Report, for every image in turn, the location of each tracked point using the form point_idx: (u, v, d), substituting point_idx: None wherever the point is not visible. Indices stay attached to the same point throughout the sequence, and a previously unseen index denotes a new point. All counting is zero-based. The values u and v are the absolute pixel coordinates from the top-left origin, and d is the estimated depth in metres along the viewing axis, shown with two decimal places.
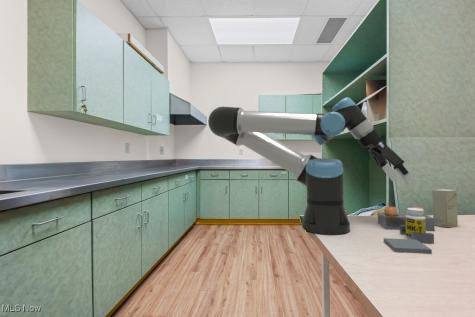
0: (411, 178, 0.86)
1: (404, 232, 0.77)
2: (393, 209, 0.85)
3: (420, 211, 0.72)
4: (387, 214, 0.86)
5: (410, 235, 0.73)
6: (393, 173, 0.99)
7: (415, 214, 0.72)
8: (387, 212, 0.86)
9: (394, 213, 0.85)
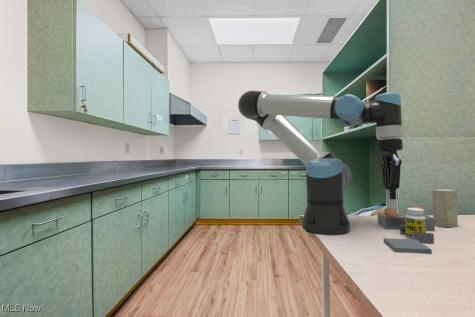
0: (394, 205, 0.86)
1: (404, 232, 0.77)
2: (393, 211, 0.85)
3: (420, 211, 0.72)
4: None
5: (410, 235, 0.73)
6: None
7: (415, 214, 0.72)
8: (387, 214, 0.86)
9: (394, 215, 0.85)
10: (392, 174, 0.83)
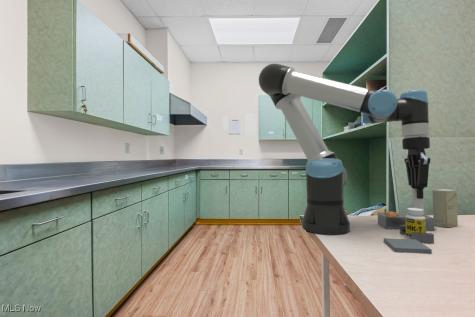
0: (421, 205, 0.84)
1: (404, 232, 0.77)
2: (393, 214, 0.85)
3: (420, 211, 0.72)
4: None
5: (410, 235, 0.73)
6: None
7: (415, 214, 0.72)
8: None
9: None
10: (420, 173, 0.81)
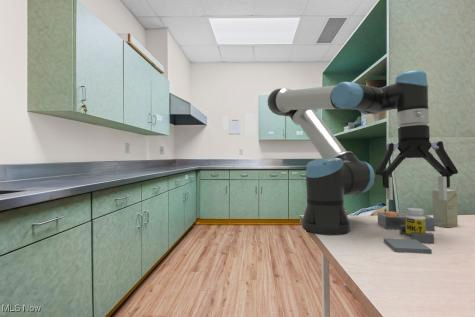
0: (388, 195, 0.75)
1: (404, 232, 0.77)
2: (393, 214, 0.85)
3: (420, 211, 0.72)
4: None
5: (410, 235, 0.73)
6: (442, 191, 0.72)
7: (415, 214, 0.72)
8: None
9: None
10: None
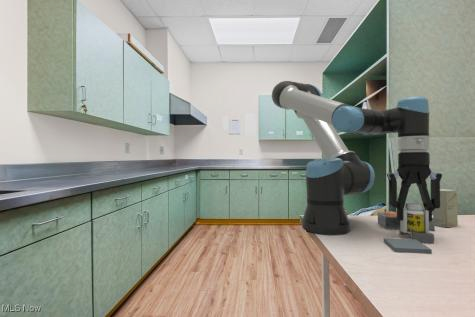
0: (403, 228, 0.74)
1: None
2: (393, 214, 0.85)
3: (419, 206, 0.72)
4: None
5: (408, 230, 0.73)
6: (424, 224, 0.73)
7: (413, 209, 0.73)
8: None
9: None
10: None
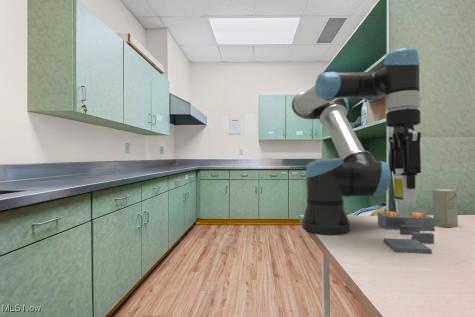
0: (412, 197, 0.63)
1: (404, 232, 0.77)
2: (393, 214, 0.85)
3: None
4: None
5: None
6: None
7: None
8: None
9: None
10: (409, 153, 0.61)
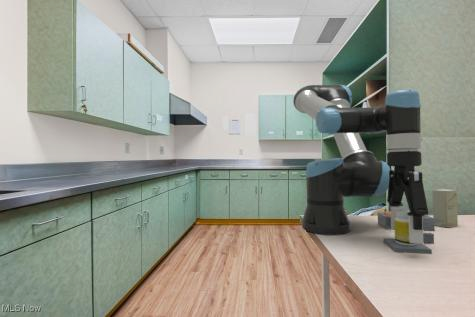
0: (419, 238, 0.60)
1: None
2: None
3: None
4: None
5: None
6: None
7: None
8: None
9: None
10: (413, 193, 0.59)
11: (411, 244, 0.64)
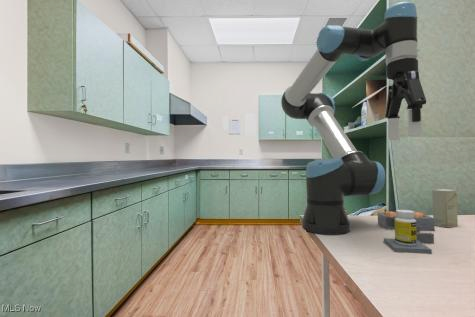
0: (417, 131, 0.64)
1: None
2: (393, 214, 0.85)
3: None
4: None
5: (414, 241, 0.64)
6: (396, 131, 0.77)
7: None
8: None
9: None
10: (411, 87, 0.63)
11: (411, 244, 0.64)
